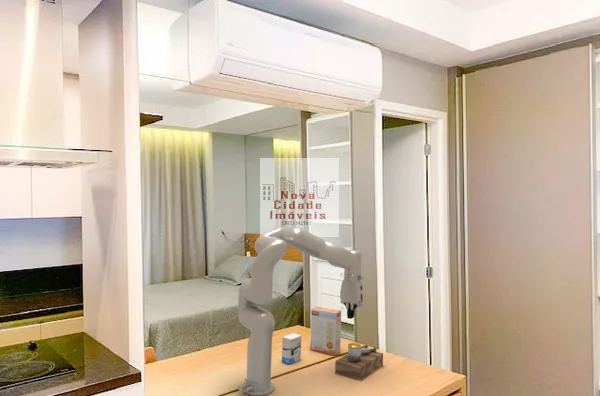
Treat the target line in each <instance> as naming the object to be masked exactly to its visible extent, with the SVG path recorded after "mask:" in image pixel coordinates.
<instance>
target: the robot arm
mask: <svg viewBox="0 0 600 396" xmlns="http://www.w3.org/2000/svg"><path fill="white" fill-rule="evenodd" d="M288 247H289V248H293V249H295V250H298V251H300V252H302V253H304V254H307V255H309V256H311V257H313V258H316V259H318V260H322V261H327V262H328V264H329V265H331V266H333V267H335V268H340V269H344V270H343V271H344V272H343V273H344V274H343V279H342V281H341V287H340V293H339V294H340V295H339V298H340V303H341V304H342V305H344V306H345V309H346V318H347V319H350V320H351V319H354V317H355V311H356V309H357V308H362V307H363V303H364V294H365V292H364V284H363V283H364V282H363V281H362V280H363V279H364V276H362V274H361V273H362V252H361V251H360V250H358V249H357V250H356V249H346V248H344V247H342V246H340V245H338V244H334V243H332V242H330V241H328V240H325V239H323V238H321V237H319V236H317V235H314V234H313V233H312V232H311V233H310V232H309V231H307V230H305V229H302V228H300V227H296V226H289V225H286V226H282V227H279V228H277V229H274V230H272V231H270V232H267V233H265V234H263V235H260V236H259V237H258V238H257V239H256V240H255V242H254V250H255V252H256V254H257V255H256V257H255V258H254V260H253V263H252V266H251V270H250V271H251V273H250V277H248V278H246V279H244V280H243V281H242V282H241V284H240V286H239V288H238V298H237V299H238V300H237V305H238V306H237V317H238V321H239V323H240V325H241V326H243V328H244V327H245V328H246V329H248V330H249V331H250V334H249V337H248V340H247V349H246V350H247V353H246V354H247V355H246V356H247V357H246V360H247V361H246V379H244V383H243V384H241V385H239V386H238V388H237V389H238V391H239V392H242V391H243V392H244V394H245V393H246V394H247V395H250V396H266V395H269V394H272V393H273V392H274V391H275V384H274V383H273V382H272V358H273V357H272V352H273V348H272V347H273V346H272V345H273V337H274V330H275V325H276V323H275V322H276V321H275V318H274V317H275V316H274V315H273V314H272V312H270V311H269V310H268V309H265V308H264V307H266V306H267V305H269V304H270V303H271V301H272V297H273V276H274V270H275V266H276V265H277V264H278V262H279V261H280V260H282V259H283V258H284V257H285V256H286V254H287V252H288Z"/></svg>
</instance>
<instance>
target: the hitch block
mask: <svg viewBox="0 0 600 396" xmlns="http://www.w3.org/2000/svg"><path fill="white" fill-rule="evenodd" d="M362 348H369V347H368V345H367V344H365V345H364V347H361V349H362ZM372 349H373V352H368V353H362V352H361V361H360V362H358V363H353V362H349V361H348V353H347V354H346V355H344V356H342V357H340V358H338V359H336V360H335V363H334V374H336V375H339V376H343V377H345V378H349V379H352V380H356V381H358V382H359V381H361V380H364V379H365V378H366V377H368V376H369V375H370V374H372V373H374V372H375V371H377V370H378V369H380V368H381V367H383V366H384V365H383V364H384V353H382V352H378V351H377V347H375V346H374V347H373V348H372Z"/></svg>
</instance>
